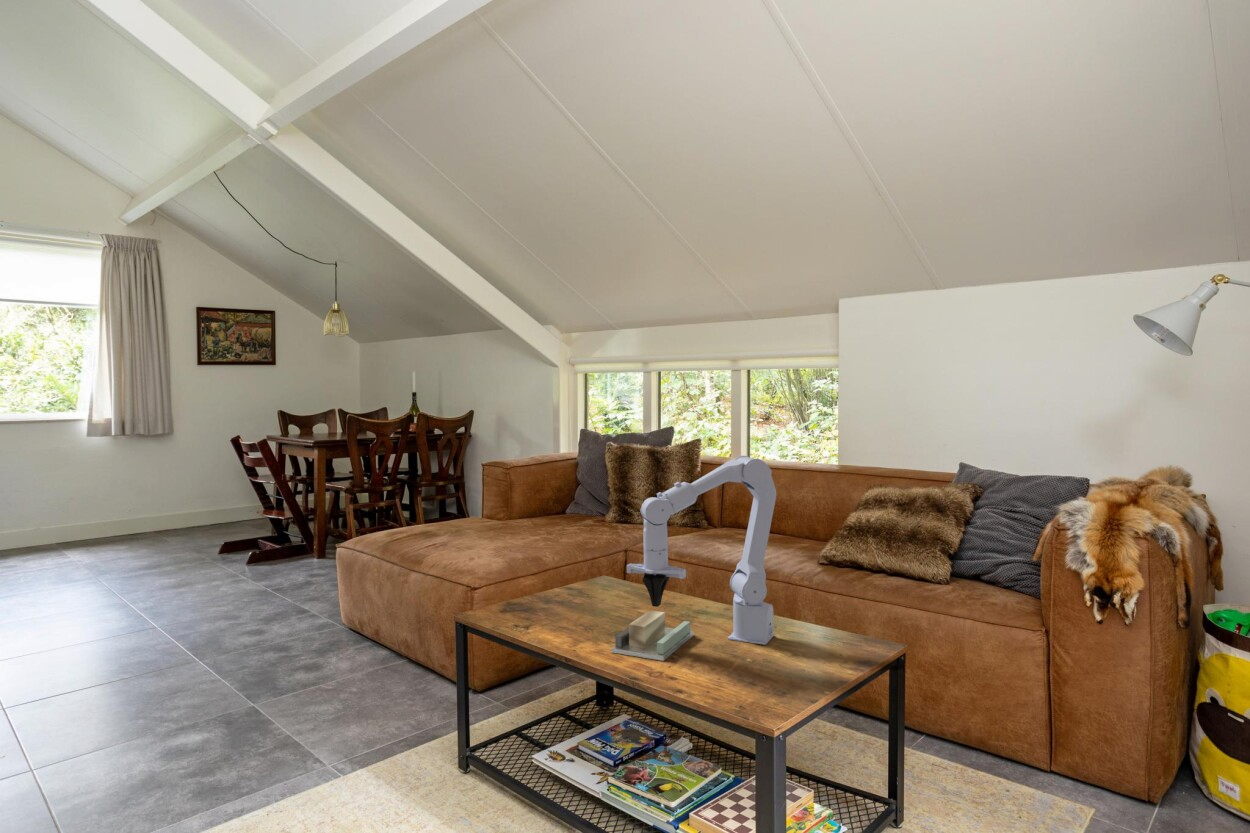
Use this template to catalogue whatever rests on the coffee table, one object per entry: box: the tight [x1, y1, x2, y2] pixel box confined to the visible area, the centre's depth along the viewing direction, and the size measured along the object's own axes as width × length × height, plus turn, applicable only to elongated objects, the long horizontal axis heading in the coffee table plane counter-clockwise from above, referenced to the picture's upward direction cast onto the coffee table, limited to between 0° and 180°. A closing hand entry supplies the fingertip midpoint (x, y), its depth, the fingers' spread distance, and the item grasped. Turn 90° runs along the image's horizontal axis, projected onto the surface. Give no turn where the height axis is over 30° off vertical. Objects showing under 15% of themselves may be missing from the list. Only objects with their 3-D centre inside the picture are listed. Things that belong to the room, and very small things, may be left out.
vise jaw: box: [657, 620, 691, 654], centre depth 176 cm, size 2×17×2 cm, turn 154°
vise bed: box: [611, 626, 695, 662], centre depth 178 cm, size 13×19×4 cm
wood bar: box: [628, 609, 666, 648], centre depth 179 cm, size 4×12×5 cm, turn 154°
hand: (656, 605), depth 178 cm, fingers closed
